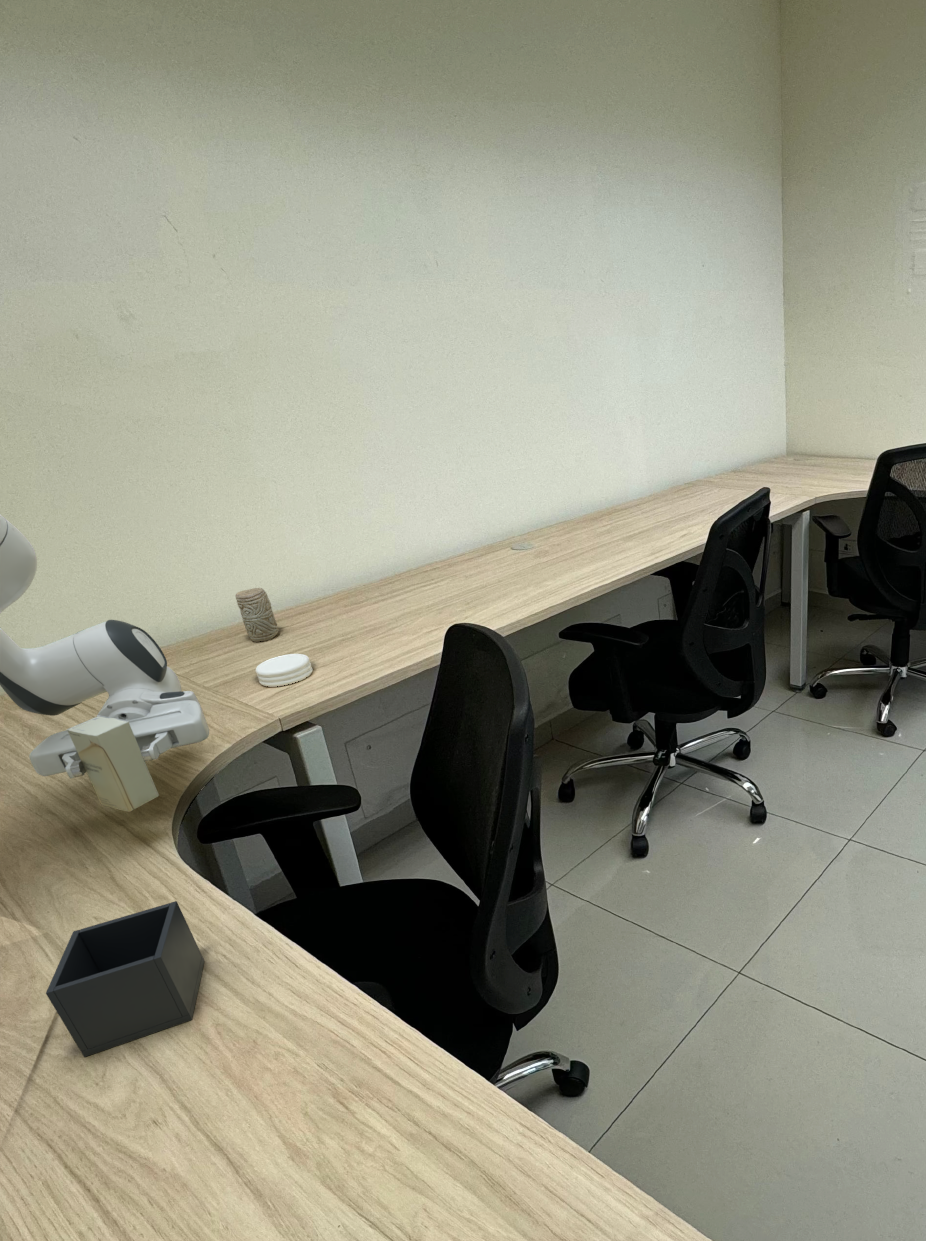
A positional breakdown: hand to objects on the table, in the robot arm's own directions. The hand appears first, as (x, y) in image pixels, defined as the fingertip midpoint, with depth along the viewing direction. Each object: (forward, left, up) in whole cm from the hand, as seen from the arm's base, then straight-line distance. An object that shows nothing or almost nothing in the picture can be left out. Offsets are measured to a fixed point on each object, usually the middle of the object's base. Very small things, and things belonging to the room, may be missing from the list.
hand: (112, 764), depth 103 cm
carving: (+9, +85, -13) cm, 86 cm away
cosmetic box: (0, +1, -7) cm, 7 cm away
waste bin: (+6, -36, -13) cm, 39 cm away
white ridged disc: (+15, +55, -13) cm, 58 cm away
